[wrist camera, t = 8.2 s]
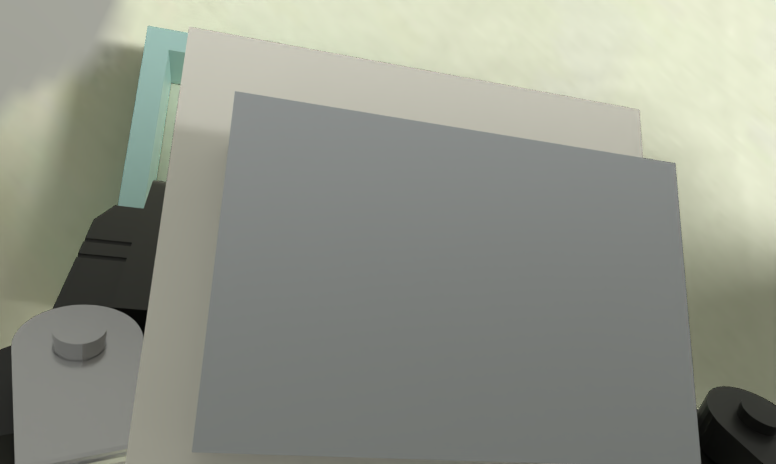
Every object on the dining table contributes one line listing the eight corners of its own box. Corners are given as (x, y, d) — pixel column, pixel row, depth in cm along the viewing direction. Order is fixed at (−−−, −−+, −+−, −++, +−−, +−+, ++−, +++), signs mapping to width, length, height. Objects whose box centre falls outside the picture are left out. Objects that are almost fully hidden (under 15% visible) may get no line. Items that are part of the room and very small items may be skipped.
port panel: (152, 60, 26) (148, 25, 23) (444, 110, 29) (466, 83, 26) (31, 806, 19) (7, 861, 17) (429, 771, 22) (456, 814, 20)
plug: (194, 276, 16) (187, -50, 5) (374, 293, 17) (708, 61, 6) (169, 474, 15) (79, 656, 4) (365, 478, 16) (768, 628, 5)
